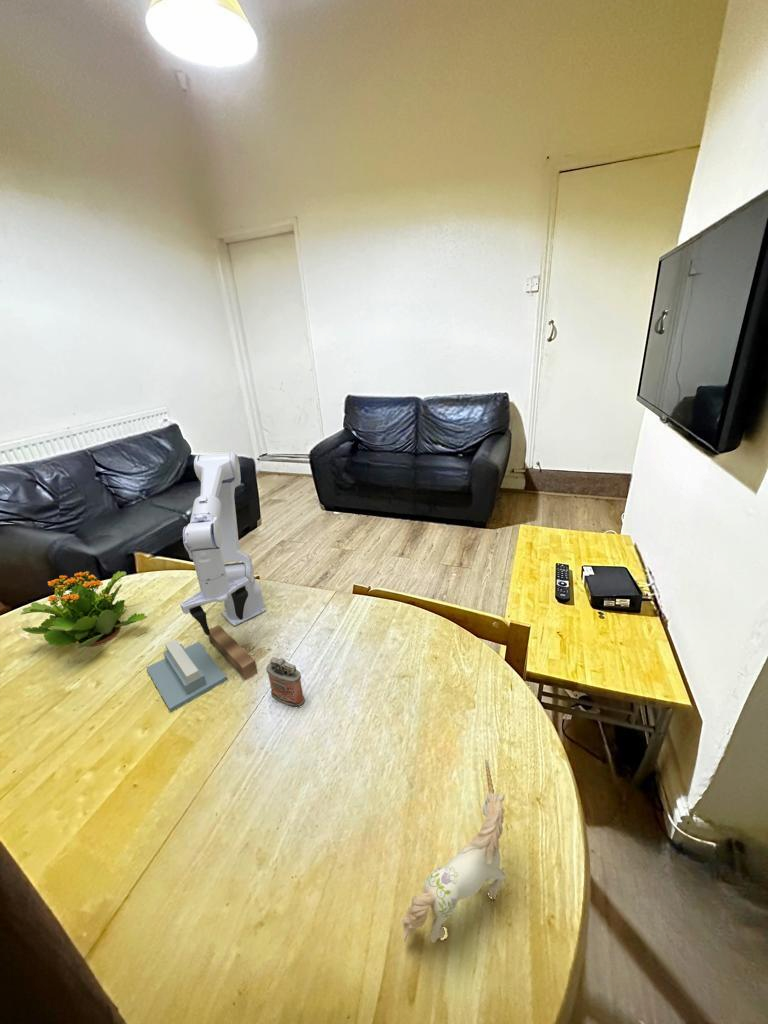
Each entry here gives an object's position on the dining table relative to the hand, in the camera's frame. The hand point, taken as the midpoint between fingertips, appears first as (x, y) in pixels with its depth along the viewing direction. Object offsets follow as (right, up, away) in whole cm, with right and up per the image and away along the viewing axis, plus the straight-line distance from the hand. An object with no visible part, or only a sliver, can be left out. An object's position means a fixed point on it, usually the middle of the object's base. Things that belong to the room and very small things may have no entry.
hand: (223, 625), depth 94 cm
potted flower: (-37, -7, +13) cm, 39 cm away
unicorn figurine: (+46, -25, -37) cm, 64 cm away
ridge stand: (-8, -11, -1) cm, 14 cm away
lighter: (+16, -13, -8) cm, 22 cm away
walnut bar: (+1, -9, +4) cm, 10 cm away
